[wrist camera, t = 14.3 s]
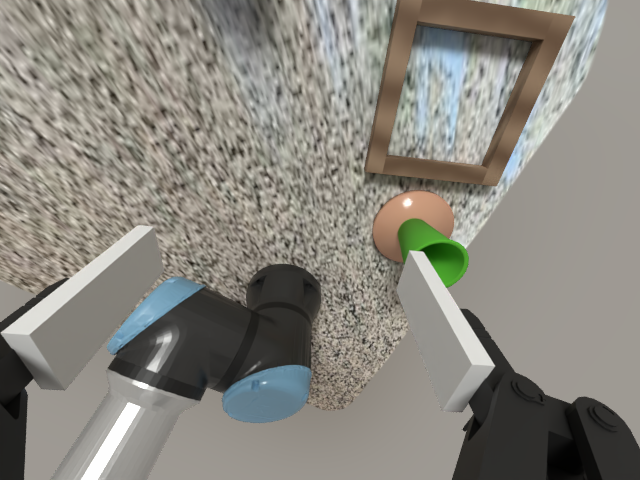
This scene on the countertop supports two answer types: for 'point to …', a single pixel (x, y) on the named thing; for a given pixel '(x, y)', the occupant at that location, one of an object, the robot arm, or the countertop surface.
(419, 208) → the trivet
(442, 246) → the cup
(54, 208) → the countertop surface
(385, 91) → the frame
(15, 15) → the countertop surface
